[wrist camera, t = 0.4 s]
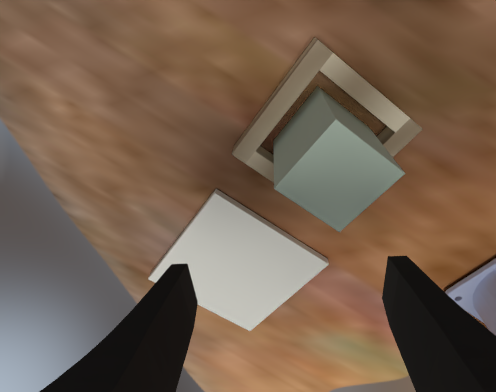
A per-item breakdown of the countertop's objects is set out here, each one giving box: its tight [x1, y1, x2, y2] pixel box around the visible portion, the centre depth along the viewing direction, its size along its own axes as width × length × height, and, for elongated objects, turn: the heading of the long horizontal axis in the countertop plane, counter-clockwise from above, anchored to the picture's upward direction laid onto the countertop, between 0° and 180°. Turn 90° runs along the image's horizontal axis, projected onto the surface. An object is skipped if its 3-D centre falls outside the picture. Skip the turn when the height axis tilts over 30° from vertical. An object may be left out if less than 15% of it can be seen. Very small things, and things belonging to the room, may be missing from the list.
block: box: [273, 86, 405, 232], centre depth 17 cm, size 4×4×6 cm
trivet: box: [148, 189, 329, 331], centre depth 25 cm, size 10×10×1 cm
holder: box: [232, 37, 422, 183], centre depth 19 cm, size 8×8×1 cm
